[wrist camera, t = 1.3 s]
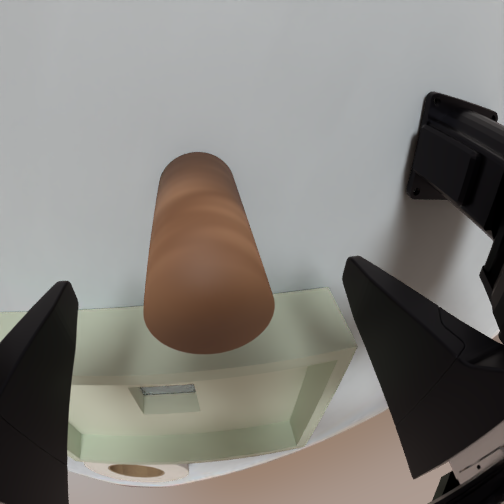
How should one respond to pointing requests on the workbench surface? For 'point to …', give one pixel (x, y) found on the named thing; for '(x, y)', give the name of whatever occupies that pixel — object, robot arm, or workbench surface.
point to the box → (202, 386)
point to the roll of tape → (141, 471)
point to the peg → (203, 262)
